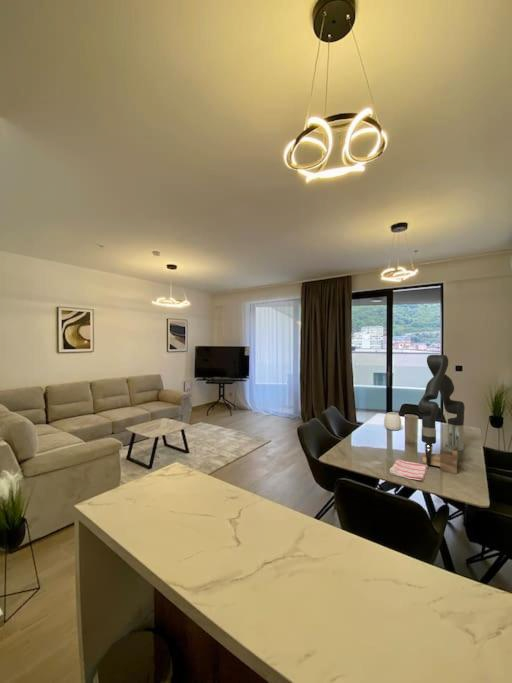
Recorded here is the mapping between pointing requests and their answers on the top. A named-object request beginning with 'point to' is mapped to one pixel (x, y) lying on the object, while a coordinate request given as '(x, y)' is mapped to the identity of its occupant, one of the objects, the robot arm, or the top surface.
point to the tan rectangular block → (432, 459)
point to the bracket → (449, 447)
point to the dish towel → (409, 470)
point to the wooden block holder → (449, 460)
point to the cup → (392, 421)
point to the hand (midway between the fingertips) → (428, 462)
